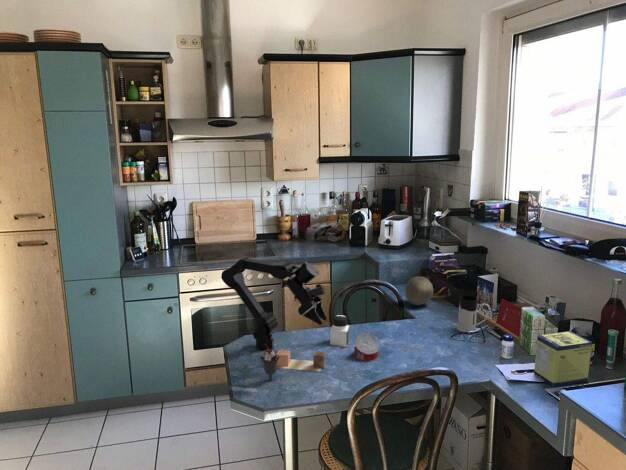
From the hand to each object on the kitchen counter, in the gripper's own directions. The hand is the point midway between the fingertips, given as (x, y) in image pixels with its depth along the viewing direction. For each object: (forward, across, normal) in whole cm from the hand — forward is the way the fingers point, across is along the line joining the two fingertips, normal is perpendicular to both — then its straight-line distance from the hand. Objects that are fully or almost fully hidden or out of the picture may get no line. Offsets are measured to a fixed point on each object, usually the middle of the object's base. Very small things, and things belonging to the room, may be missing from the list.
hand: (323, 322), depth 199 cm
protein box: (+70, +10, -56) cm, 90 cm away
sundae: (+5, -18, +25) cm, 31 cm away
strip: (+7, -4, +19) cm, 20 cm away
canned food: (+22, +13, -2) cm, 25 cm away
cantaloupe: (+25, +77, -24) cm, 85 cm away
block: (+3, -4, +22) cm, 22 cm away
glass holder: (+46, +48, -40) cm, 77 cm away
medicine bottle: (+12, +22, +6) cm, 26 cm away
